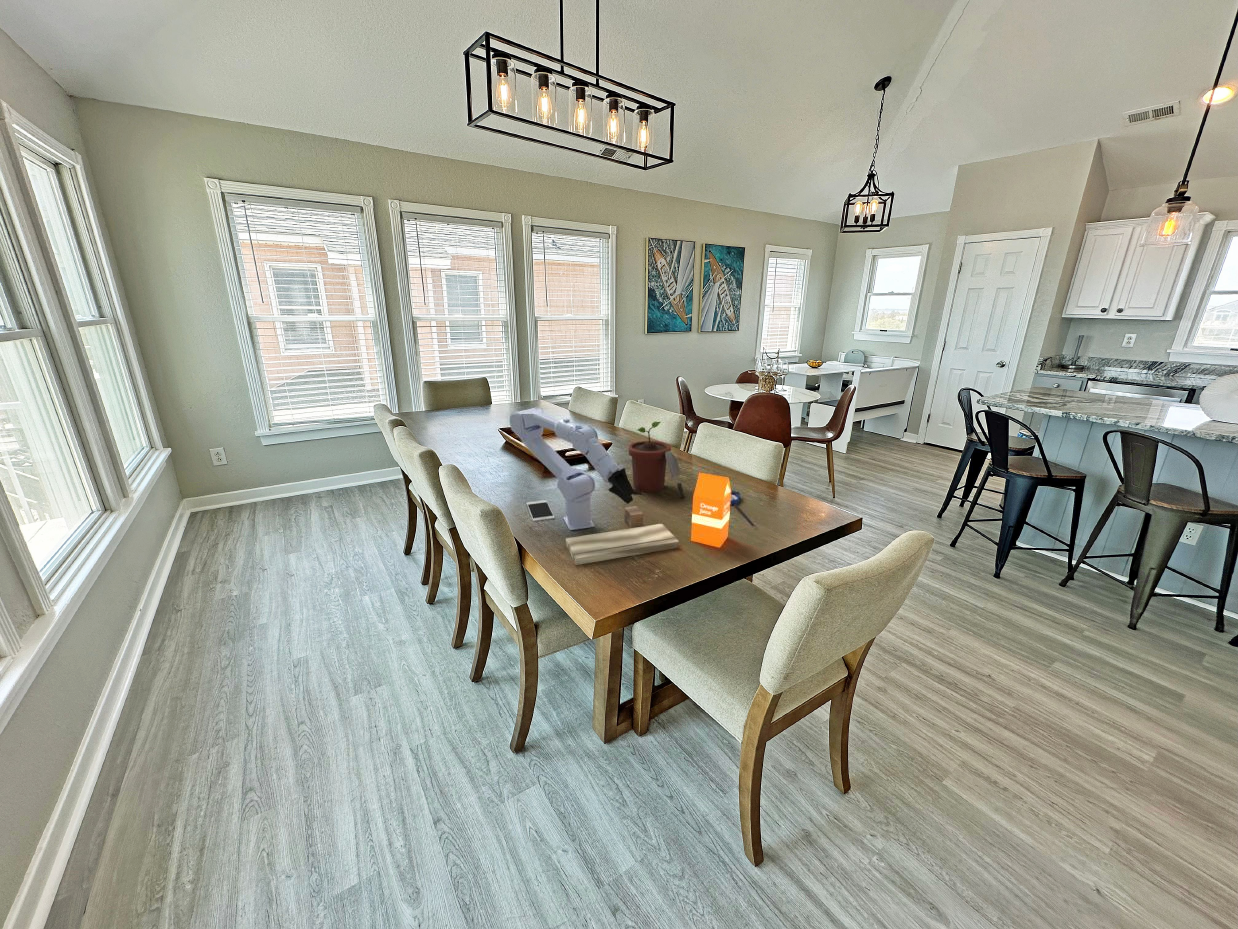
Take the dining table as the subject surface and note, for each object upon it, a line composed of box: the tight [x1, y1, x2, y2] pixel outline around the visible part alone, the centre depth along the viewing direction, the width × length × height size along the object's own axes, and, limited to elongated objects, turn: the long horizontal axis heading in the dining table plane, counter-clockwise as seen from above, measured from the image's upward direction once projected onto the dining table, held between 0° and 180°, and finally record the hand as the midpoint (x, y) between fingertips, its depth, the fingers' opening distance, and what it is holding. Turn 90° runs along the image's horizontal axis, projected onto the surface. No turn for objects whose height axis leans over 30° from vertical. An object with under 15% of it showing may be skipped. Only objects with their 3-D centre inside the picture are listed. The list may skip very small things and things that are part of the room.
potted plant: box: [627, 421, 685, 498], centre depth 175 cm, size 18×22×25 cm
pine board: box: [565, 523, 680, 566], centre depth 137 cm, size 12×30×2 cm, turn 109°
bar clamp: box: [730, 489, 759, 531], centre depth 158 cm, size 32×2×10 cm
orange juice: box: [690, 472, 732, 548], centre depth 138 cm, size 8×9×20 cm
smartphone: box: [525, 499, 556, 523], centre depth 160 cm, size 7×16×1 cm, turn 18°
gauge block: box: [623, 505, 644, 529], centre depth 149 cm, size 8×4×5 cm, turn 19°
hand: (630, 498), depth 134 cm, fingers open, 7 cm apart
